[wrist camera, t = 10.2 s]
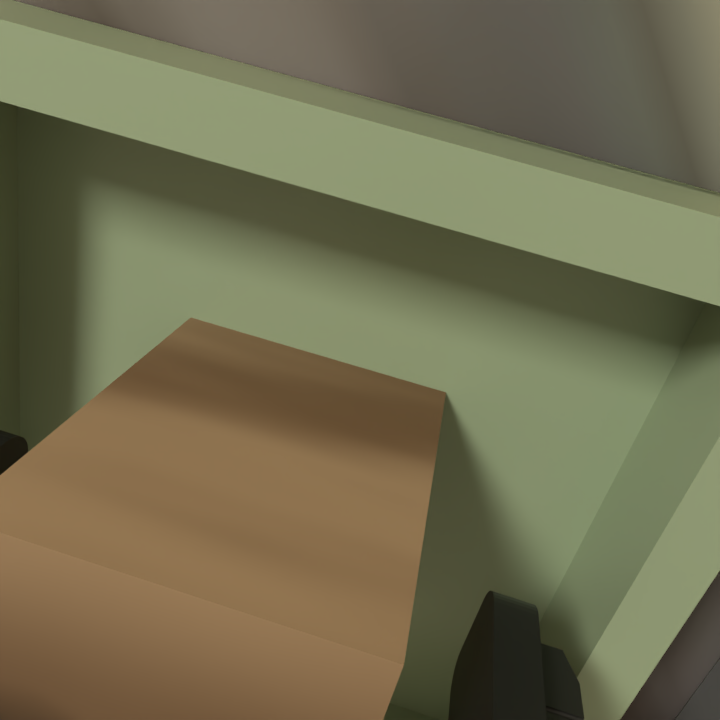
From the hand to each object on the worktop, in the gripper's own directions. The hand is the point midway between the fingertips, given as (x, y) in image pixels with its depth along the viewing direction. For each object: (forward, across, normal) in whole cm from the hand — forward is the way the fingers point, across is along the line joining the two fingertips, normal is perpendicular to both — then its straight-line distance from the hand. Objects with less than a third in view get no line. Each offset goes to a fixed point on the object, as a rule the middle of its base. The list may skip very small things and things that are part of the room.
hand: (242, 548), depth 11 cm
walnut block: (+3, 0, 0) cm, 3 cm away
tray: (+3, 0, 0) cm, 3 cm away
